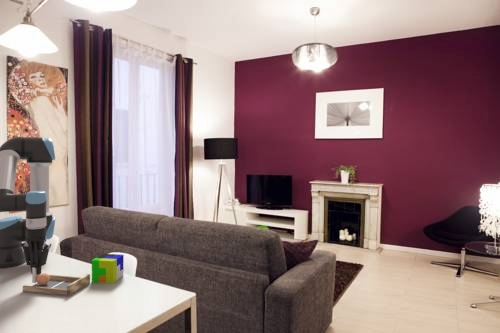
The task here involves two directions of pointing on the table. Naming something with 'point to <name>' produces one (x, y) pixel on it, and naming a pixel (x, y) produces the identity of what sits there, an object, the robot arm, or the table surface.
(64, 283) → the tray
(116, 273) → the puzzle toy
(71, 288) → the divided wooden tray
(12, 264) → the robot arm
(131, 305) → the table surface
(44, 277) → the ball
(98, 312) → the table surface
